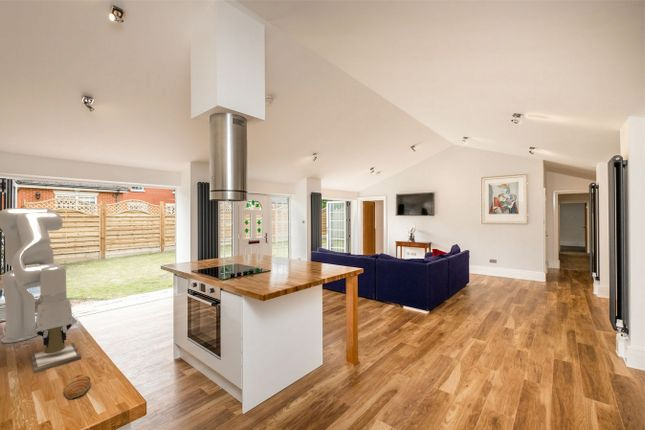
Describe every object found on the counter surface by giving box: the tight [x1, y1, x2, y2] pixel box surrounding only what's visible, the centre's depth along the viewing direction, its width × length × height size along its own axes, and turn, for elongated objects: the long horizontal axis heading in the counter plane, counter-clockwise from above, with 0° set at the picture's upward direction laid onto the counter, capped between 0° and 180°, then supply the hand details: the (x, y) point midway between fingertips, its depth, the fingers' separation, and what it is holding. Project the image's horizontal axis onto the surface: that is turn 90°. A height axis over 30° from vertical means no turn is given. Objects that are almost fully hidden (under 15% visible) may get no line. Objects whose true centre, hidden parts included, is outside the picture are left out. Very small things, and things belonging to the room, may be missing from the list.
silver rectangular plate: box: [30, 343, 82, 374], centre depth 116 cm, size 18×13×1 cm
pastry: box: [62, 373, 91, 400], centre depth 93 cm, size 9×7×4 cm
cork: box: [43, 327, 66, 354], centre depth 116 cm, size 6×6×11 cm
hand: (55, 343), depth 116 cm, fingers closed on cork, 3 cm apart
